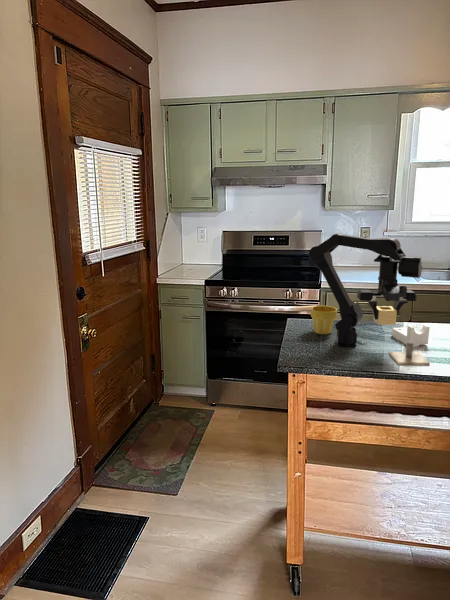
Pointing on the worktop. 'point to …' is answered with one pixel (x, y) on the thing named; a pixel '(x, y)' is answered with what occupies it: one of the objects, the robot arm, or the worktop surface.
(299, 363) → the worktop surface
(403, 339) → the bracket
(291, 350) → the worktop surface
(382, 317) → the brass collar
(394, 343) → the worktop surface
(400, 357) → the post board
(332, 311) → the plant pot
